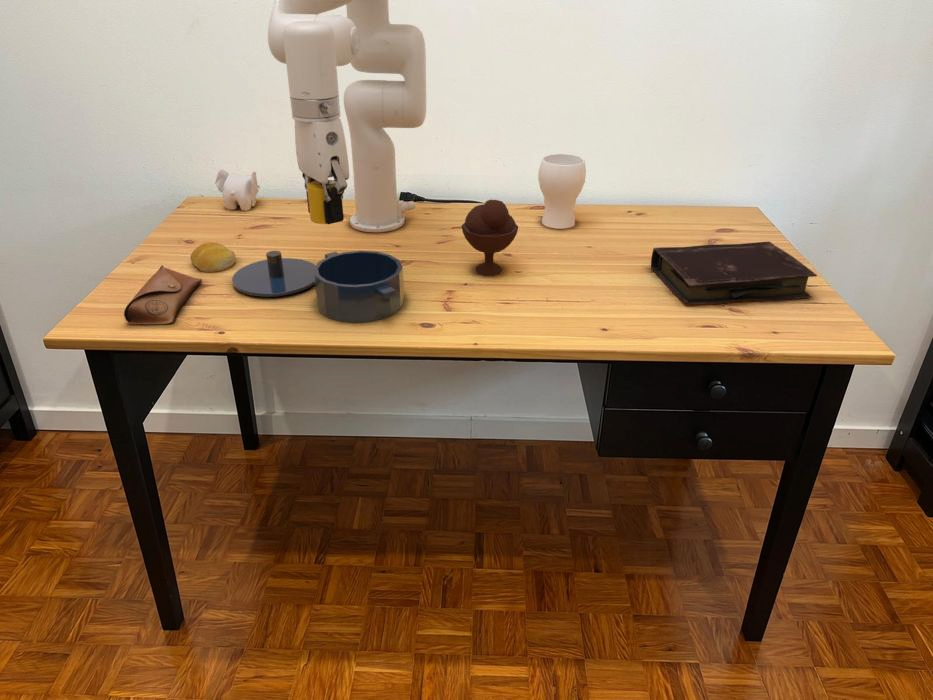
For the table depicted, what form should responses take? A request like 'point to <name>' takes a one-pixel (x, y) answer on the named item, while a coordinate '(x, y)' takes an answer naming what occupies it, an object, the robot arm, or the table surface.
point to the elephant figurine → (237, 189)
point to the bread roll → (212, 257)
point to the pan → (359, 286)
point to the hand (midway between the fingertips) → (325, 216)
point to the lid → (274, 276)
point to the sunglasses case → (160, 298)
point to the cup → (561, 188)
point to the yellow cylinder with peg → (317, 201)
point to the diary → (731, 273)
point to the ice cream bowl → (489, 233)
